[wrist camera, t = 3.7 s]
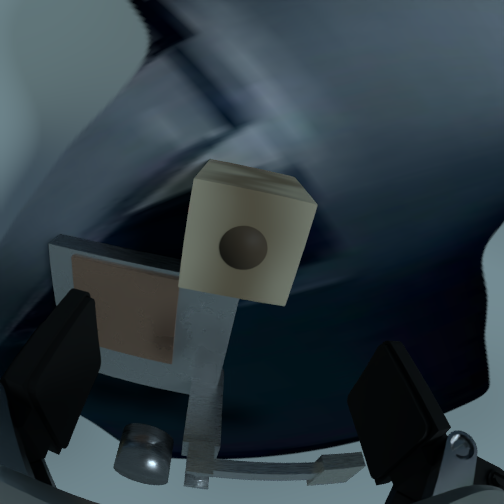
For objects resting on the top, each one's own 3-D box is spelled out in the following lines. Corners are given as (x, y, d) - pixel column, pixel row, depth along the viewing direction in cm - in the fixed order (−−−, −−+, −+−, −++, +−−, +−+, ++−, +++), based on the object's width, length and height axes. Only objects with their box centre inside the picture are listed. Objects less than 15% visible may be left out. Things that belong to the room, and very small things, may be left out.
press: (248, 272, 23) (253, 397, 13) (218, 390, 30) (213, 490, 19) (60, 234, 22) (-29, 314, 11) (77, 357, 28) (36, 440, 17)
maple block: (294, 177, 20) (317, 205, 14) (273, 252, 23) (284, 306, 17) (210, 158, 20) (193, 178, 13) (196, 237, 22) (177, 287, 16)
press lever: (359, 440, 22) (369, 475, 18) (339, 460, 23) (346, 492, 20) (121, 418, 19) (109, 458, 16) (126, 441, 21) (117, 476, 17)
